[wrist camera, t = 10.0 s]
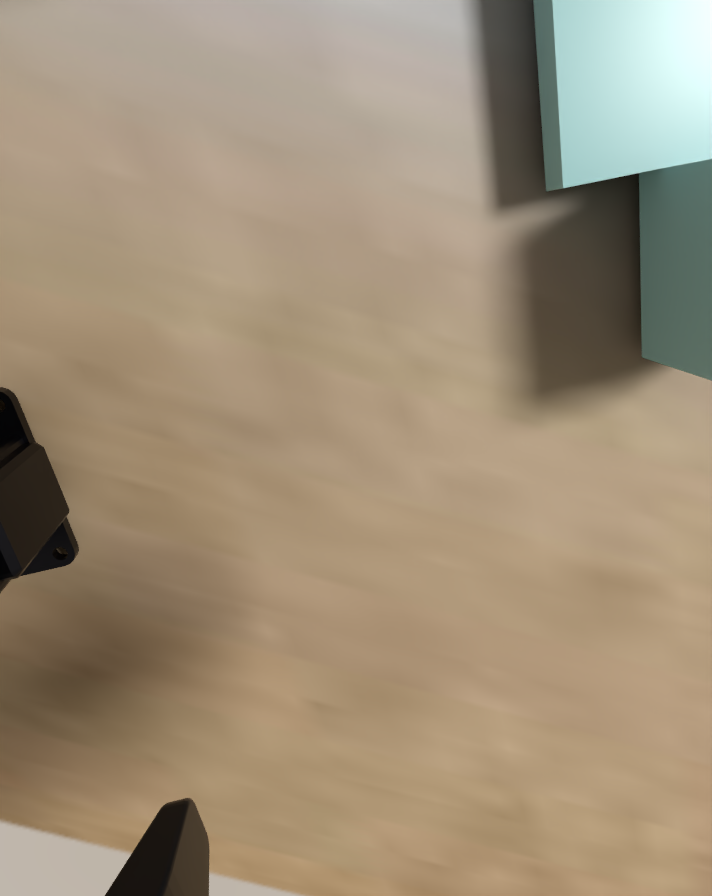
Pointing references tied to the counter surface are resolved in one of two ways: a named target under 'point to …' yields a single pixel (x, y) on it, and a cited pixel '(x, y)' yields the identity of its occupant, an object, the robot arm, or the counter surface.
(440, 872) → the counter surface
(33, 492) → the robot arm
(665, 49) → the lid
